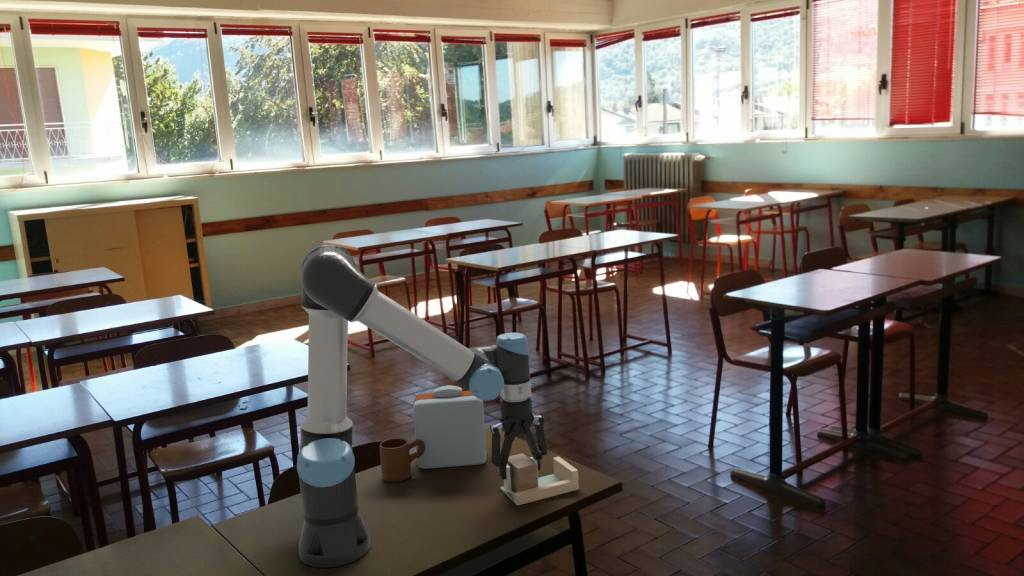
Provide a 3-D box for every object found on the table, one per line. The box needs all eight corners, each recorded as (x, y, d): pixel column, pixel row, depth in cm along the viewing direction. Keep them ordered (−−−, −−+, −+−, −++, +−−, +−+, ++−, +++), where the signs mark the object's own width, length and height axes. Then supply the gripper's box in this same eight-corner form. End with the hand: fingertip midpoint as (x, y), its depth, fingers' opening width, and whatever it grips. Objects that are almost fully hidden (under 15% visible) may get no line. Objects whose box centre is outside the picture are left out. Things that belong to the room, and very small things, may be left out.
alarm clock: (486, 452, 225) (481, 381, 222) (487, 464, 217) (482, 391, 213) (419, 457, 225) (413, 386, 221) (417, 470, 216) (411, 396, 212)
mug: (423, 465, 219) (420, 432, 217) (431, 475, 212) (428, 441, 210) (379, 474, 215) (376, 441, 213) (386, 485, 208) (382, 451, 206)
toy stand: (517, 505, 192) (516, 485, 191) (500, 489, 201) (499, 470, 200) (578, 489, 199) (577, 470, 198) (559, 474, 208) (558, 456, 207)
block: (506, 485, 202) (504, 457, 200) (524, 481, 204) (522, 453, 202) (519, 498, 194) (517, 468, 193) (538, 493, 196) (536, 464, 195)
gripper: (484, 409, 187) (490, 502, 192) (559, 394, 195) (563, 483, 200) (472, 400, 194) (478, 490, 199) (545, 386, 202) (549, 472, 206)
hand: (521, 486), depth 199 cm, fingers open, 7 cm apart
